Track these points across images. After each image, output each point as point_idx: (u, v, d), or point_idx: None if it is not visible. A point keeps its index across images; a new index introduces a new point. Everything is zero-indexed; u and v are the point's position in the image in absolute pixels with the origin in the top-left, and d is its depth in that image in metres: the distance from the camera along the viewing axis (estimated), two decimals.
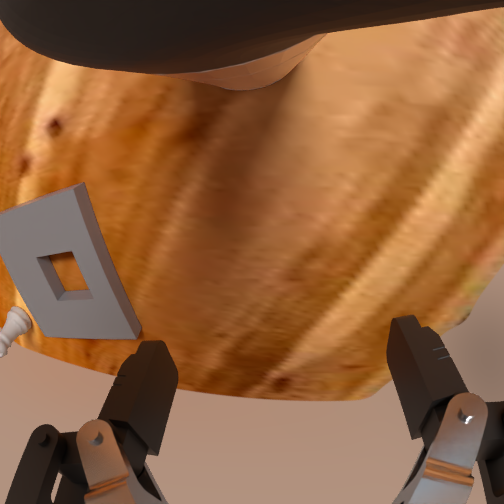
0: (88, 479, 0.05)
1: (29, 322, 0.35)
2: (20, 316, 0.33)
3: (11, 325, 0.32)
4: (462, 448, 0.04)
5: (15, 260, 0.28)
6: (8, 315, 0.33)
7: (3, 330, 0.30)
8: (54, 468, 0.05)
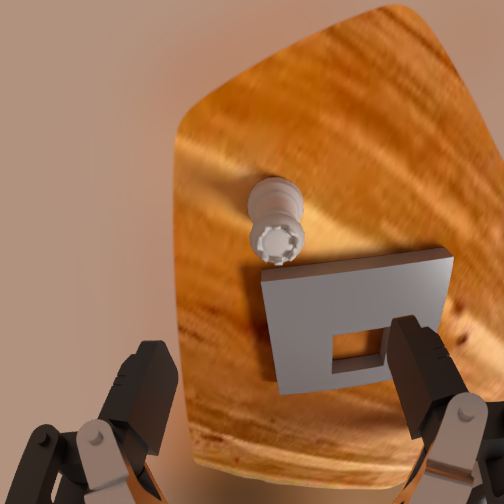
0: (88, 479, 0.05)
1: None
2: None
3: None
4: (462, 448, 0.04)
5: (397, 290, 0.25)
6: (297, 200, 0.22)
7: None
8: (54, 468, 0.05)
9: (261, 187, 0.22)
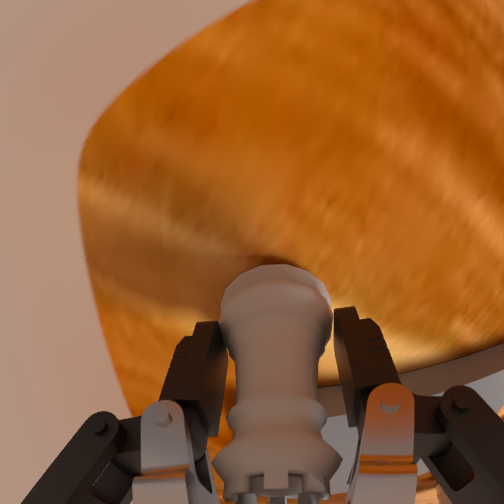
0: (142, 461, 0.05)
1: None
2: None
3: None
4: (395, 438, 0.05)
5: None
6: (322, 320, 0.10)
7: None
8: (104, 461, 0.06)
9: (245, 295, 0.10)
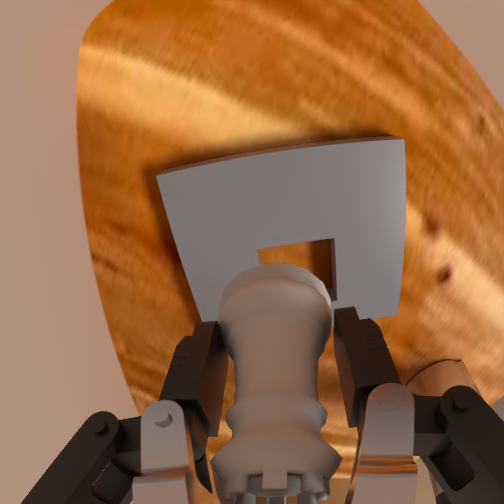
0: (143, 461, 0.05)
1: None
2: None
3: None
4: (395, 438, 0.05)
5: (331, 182, 0.20)
6: (322, 319, 0.10)
7: None
8: (104, 461, 0.06)
9: (245, 294, 0.10)
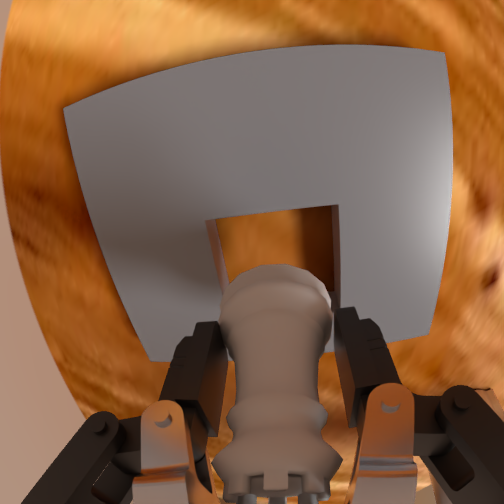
0: (143, 461, 0.05)
1: None
2: None
3: None
4: (395, 438, 0.05)
5: (332, 106, 0.11)
6: (322, 320, 0.10)
7: None
8: (104, 461, 0.06)
9: (245, 295, 0.10)
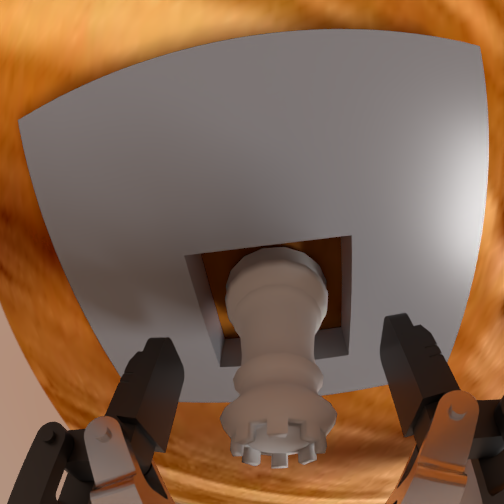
0: (94, 476, 0.05)
1: None
2: None
3: None
4: (454, 446, 0.04)
5: (346, 108, 0.08)
6: (318, 296, 0.11)
7: None
8: (60, 466, 0.05)
9: (249, 273, 0.11)
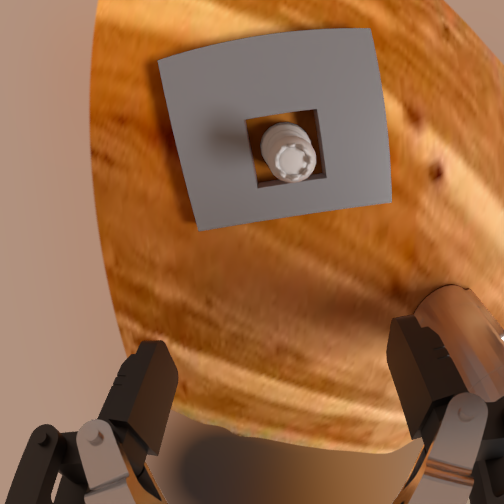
0: (88, 479, 0.05)
1: None
2: None
3: None
4: (462, 448, 0.04)
5: (309, 59, 0.20)
6: (305, 139, 0.23)
7: None
8: (54, 468, 0.05)
9: (272, 129, 0.23)
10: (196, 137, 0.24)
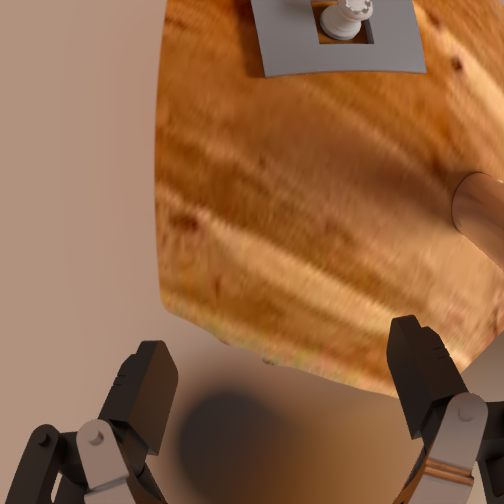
0: (88, 479, 0.05)
1: (337, 38, 0.25)
2: (354, 34, 0.24)
3: (356, 24, 0.22)
4: (462, 448, 0.04)
5: None
6: None
7: None
8: (54, 468, 0.05)
9: (331, 5, 0.22)
10: (270, 3, 0.22)
